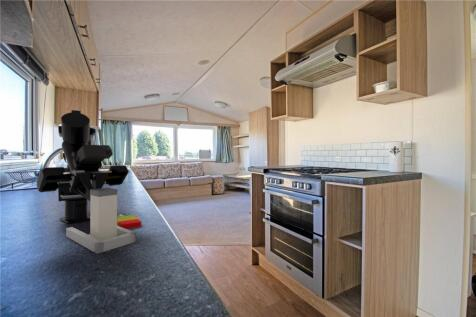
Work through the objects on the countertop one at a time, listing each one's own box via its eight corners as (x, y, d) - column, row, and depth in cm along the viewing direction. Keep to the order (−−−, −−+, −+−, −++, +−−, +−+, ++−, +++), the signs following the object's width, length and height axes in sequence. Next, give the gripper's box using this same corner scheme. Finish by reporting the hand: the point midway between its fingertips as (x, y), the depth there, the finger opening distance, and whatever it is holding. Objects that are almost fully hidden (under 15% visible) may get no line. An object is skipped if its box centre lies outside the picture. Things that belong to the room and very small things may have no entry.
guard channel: (66, 236, 56) (66, 228, 56) (103, 227, 63) (103, 220, 63) (97, 253, 47) (97, 243, 47) (136, 241, 54) (136, 232, 53)
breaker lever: (89, 238, 53) (90, 189, 53) (108, 233, 57) (108, 187, 56) (98, 242, 51) (98, 191, 51) (117, 237, 54) (117, 189, 54)
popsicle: (120, 231, 61) (120, 224, 61) (110, 218, 73) (110, 212, 73) (142, 228, 65) (142, 221, 65) (129, 216, 76) (129, 210, 76)
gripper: (40, 130, 50) (59, 185, 44) (125, 136, 65) (148, 178, 59) (30, 165, 55) (45, 220, 49) (111, 163, 70) (131, 205, 64)
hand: (98, 203), depth 55 cm, fingers closed
